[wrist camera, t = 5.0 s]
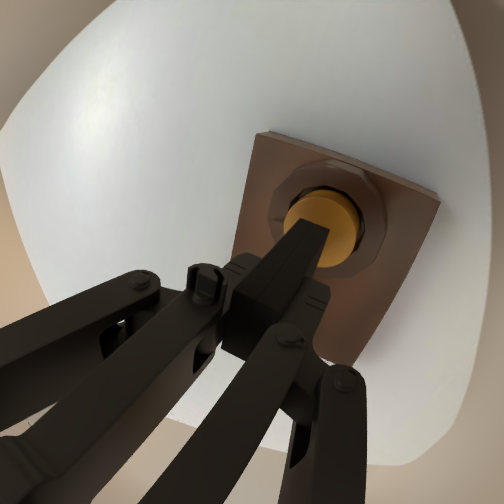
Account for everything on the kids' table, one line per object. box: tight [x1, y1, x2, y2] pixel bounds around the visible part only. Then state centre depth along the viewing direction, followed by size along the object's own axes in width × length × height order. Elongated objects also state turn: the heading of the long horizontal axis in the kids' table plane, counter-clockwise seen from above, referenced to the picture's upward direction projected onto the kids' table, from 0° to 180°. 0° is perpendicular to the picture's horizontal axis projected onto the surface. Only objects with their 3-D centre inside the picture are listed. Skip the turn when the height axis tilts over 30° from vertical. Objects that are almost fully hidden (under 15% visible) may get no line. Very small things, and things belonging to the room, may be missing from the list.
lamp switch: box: [284, 189, 360, 267], centre depth 17 cm, size 4×4×2 cm
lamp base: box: [231, 131, 440, 367], centre depth 21 cm, size 12×15×4 cm
